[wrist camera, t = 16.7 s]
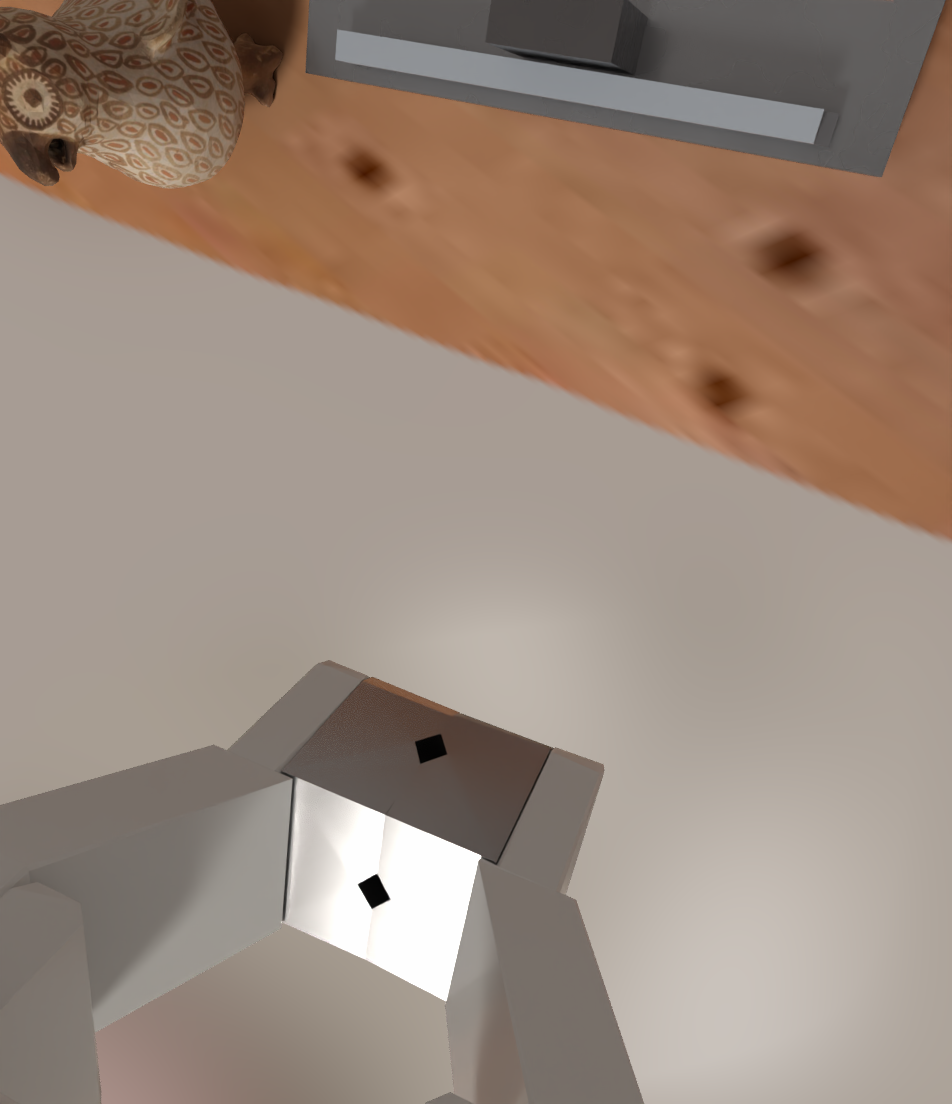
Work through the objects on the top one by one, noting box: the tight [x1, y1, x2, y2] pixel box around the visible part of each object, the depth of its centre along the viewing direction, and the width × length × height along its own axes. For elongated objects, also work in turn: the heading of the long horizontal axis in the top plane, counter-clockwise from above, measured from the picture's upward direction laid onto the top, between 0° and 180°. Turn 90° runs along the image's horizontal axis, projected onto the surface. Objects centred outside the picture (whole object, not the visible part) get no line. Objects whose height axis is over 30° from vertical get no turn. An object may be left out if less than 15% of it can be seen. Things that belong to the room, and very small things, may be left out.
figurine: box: [0, 0, 283, 188], centre depth 32 cm, size 9×10×15 cm
